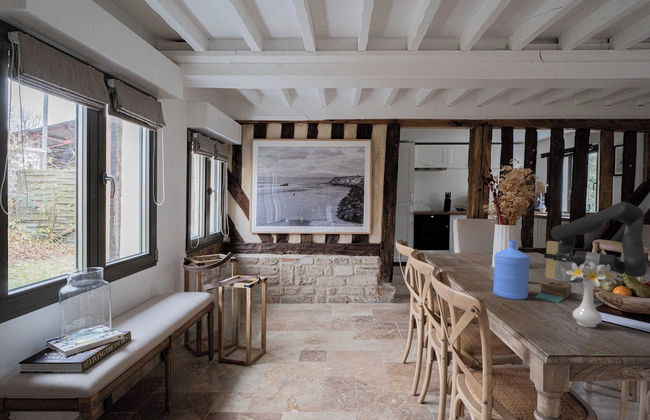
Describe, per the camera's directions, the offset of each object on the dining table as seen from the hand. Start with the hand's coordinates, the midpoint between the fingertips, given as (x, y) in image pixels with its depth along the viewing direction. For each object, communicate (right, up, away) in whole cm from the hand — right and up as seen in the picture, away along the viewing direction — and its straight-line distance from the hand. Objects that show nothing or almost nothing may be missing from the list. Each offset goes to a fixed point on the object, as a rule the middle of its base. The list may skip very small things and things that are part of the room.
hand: (545, 255), depth 172 cm
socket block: (+10, -21, +8) cm, 25 cm away
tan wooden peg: (+2, -11, -1) cm, 11 cm away
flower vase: (-7, -23, -35) cm, 43 cm away
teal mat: (+2, -21, -1) cm, 21 cm away
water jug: (-16, -21, +3) cm, 27 cm away
